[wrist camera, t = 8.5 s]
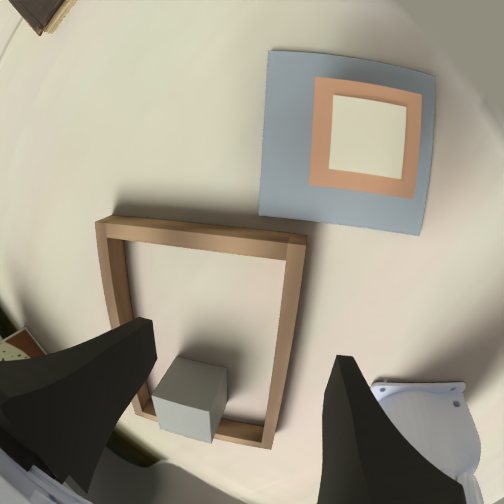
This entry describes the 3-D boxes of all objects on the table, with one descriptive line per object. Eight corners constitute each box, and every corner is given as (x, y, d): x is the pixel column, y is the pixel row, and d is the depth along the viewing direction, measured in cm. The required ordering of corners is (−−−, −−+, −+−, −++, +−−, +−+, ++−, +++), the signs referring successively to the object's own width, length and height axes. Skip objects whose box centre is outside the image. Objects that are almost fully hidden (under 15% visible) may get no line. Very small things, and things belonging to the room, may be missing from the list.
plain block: (227, 367, 23) (209, 411, 18) (227, 401, 24) (211, 443, 20) (176, 355, 24) (151, 395, 19) (181, 390, 25) (160, 428, 21)
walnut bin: (307, 235, 18) (306, 245, 16) (274, 433, 25) (271, 449, 23) (111, 215, 20) (94, 222, 18) (143, 401, 27) (135, 414, 25)
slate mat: (432, 77, 13) (435, 76, 12) (417, 234, 16) (419, 236, 16) (269, 52, 14) (268, 50, 14) (259, 213, 18) (258, 215, 18)
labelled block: (392, 108, 14) (423, 93, 9) (386, 184, 15) (415, 200, 11) (314, 97, 15) (314, 75, 10) (309, 174, 16) (308, 185, 11)
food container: (13, 335, 31) (-31, 370, 21) (19, 317, 28) (-32, 356, 19) (68, 399, 32) (30, 443, 23) (80, 389, 30) (37, 439, 21)
